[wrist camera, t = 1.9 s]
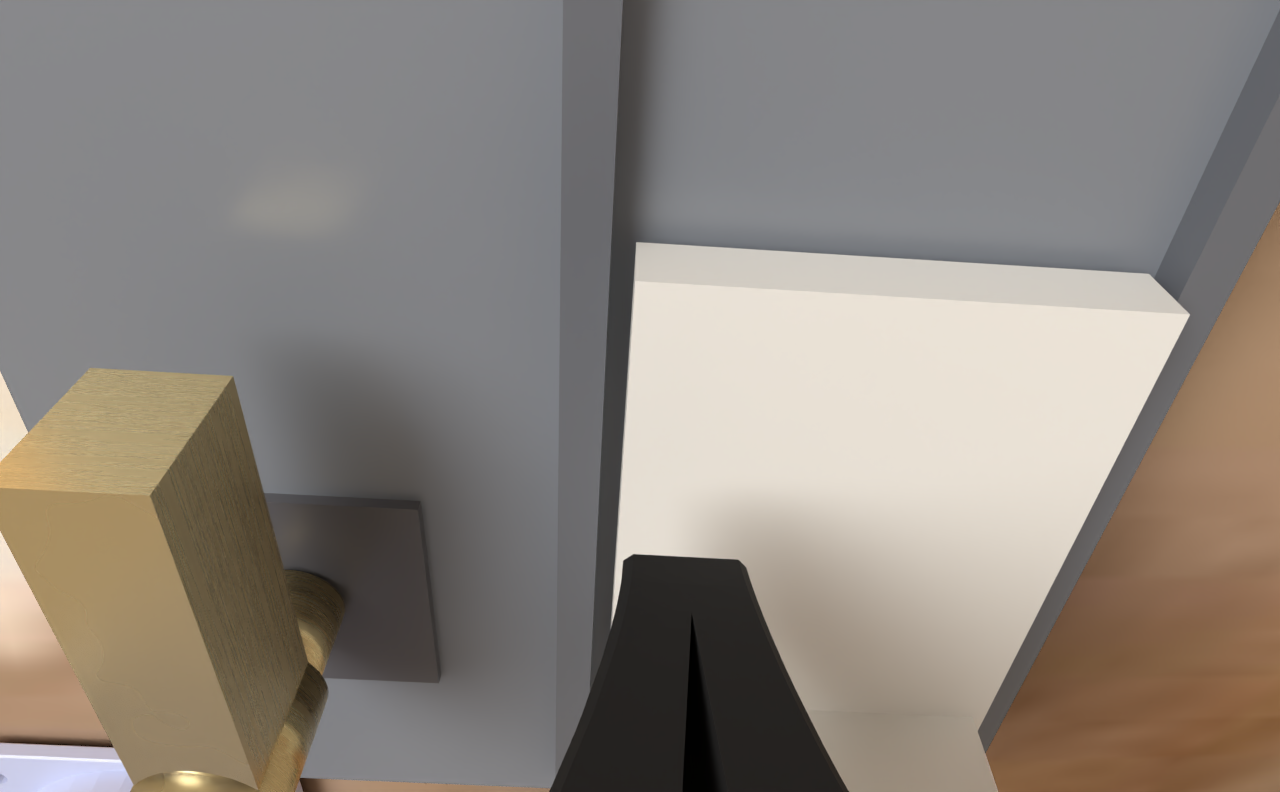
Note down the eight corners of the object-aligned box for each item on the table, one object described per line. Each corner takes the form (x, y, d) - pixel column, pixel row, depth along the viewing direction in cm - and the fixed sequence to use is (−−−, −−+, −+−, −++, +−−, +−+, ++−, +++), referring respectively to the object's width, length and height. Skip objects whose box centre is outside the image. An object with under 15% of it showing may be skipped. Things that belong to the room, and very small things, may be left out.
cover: (934, 735, 16) (977, 875, 14) (603, 721, 16) (597, 860, 14) (1148, 274, 11) (1272, 396, 9) (635, 242, 10) (632, 359, 8)
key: (364, 643, 15) (295, 852, 12) (249, 637, 15) (151, 846, 12) (298, 306, 11) (171, 496, 8) (140, 297, 11) (-46, 486, 8)
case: (907, 703, 21) (943, 832, 18) (230, 672, 20) (169, 800, 18) (1384, -452, 9) (1677, -545, 6) (-216, -595, 8) (-589, -755, 6)
